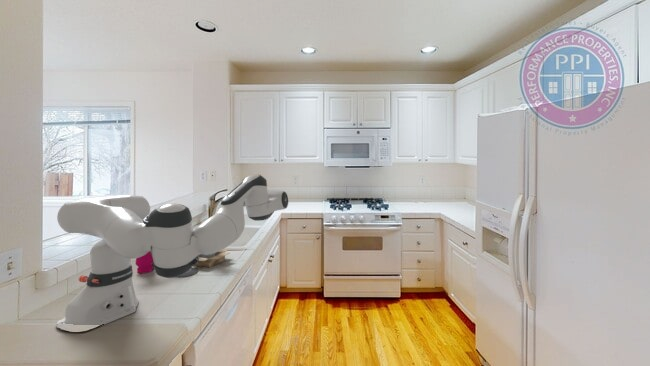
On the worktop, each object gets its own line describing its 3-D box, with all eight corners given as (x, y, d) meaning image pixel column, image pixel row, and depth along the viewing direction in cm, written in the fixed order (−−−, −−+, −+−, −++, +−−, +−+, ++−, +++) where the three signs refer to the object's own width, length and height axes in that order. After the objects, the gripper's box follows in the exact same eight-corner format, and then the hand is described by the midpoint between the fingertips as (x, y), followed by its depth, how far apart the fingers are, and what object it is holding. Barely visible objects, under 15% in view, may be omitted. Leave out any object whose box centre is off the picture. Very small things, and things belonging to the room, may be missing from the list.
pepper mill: (140, 274, 138) (137, 230, 136) (133, 271, 142) (130, 228, 140) (156, 270, 143) (154, 227, 142) (149, 266, 148) (147, 225, 146)
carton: (210, 270, 142) (210, 262, 141) (180, 266, 148) (180, 258, 148) (235, 258, 159) (234, 250, 158) (207, 254, 165) (206, 247, 165)
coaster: (185, 278, 133) (185, 276, 133) (168, 275, 136) (167, 274, 136) (202, 270, 142) (202, 269, 142) (185, 267, 146) (185, 266, 146)
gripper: (240, 211, 127) (215, 212, 133) (270, 204, 145) (247, 204, 151) (238, 196, 126) (214, 197, 133) (269, 190, 145) (246, 191, 151)
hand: (232, 201), depth 142 cm, fingers open, 8 cm apart
